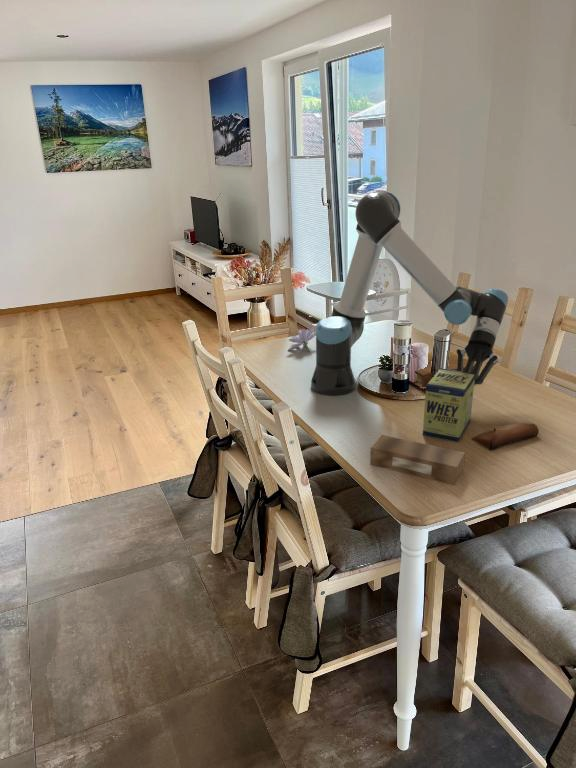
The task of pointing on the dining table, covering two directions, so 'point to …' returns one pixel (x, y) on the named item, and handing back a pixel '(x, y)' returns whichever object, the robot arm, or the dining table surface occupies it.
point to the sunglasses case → (506, 435)
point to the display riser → (418, 459)
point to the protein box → (448, 404)
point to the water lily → (302, 338)
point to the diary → (425, 374)
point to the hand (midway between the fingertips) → (461, 401)
